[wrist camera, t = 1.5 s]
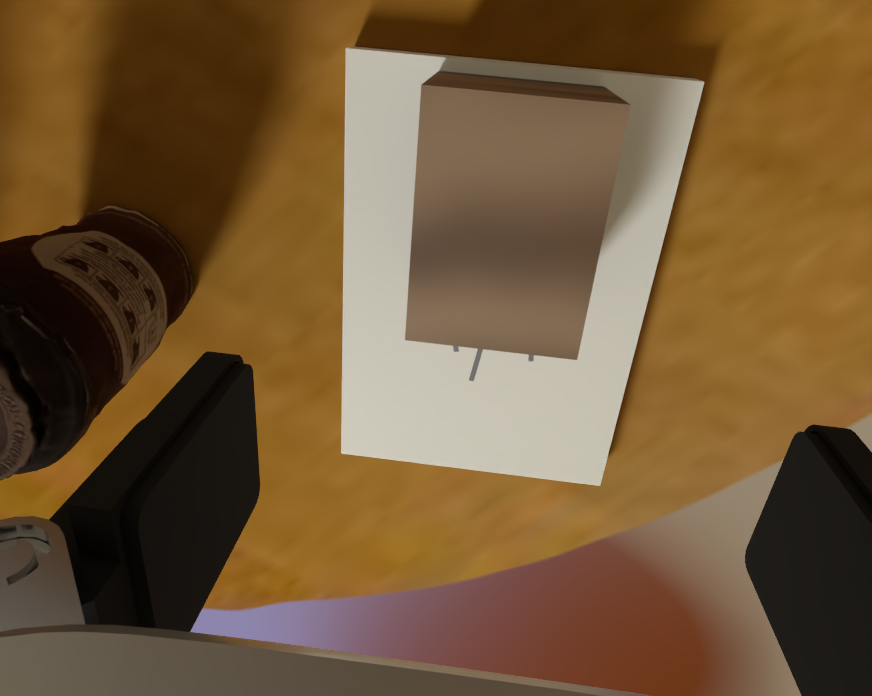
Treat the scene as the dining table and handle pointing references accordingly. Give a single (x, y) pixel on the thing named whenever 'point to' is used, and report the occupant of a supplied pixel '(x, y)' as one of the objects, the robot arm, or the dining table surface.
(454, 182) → the block
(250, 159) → the dining table surface
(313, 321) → the dining table surface
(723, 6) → the dining table surface
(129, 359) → the coffee cup
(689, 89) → the board
